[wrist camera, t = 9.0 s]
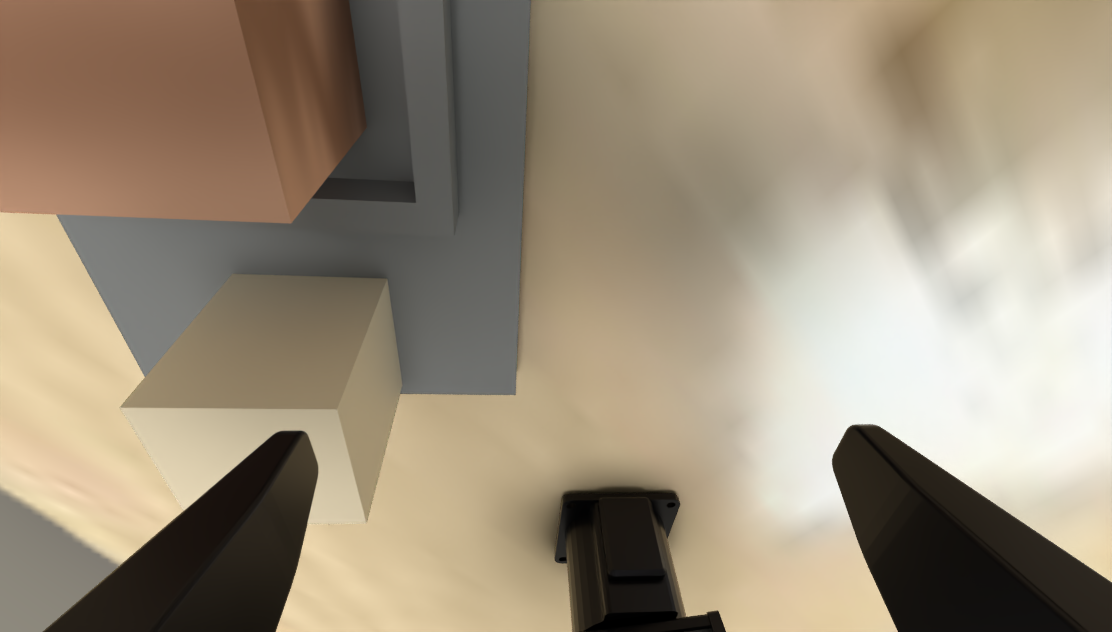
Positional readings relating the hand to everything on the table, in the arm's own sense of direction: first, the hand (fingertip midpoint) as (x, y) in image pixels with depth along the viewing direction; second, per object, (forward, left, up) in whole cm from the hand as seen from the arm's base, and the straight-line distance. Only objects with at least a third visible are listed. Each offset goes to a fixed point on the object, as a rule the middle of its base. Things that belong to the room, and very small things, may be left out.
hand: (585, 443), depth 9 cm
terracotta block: (+5, +8, -10) cm, 13 cm away
